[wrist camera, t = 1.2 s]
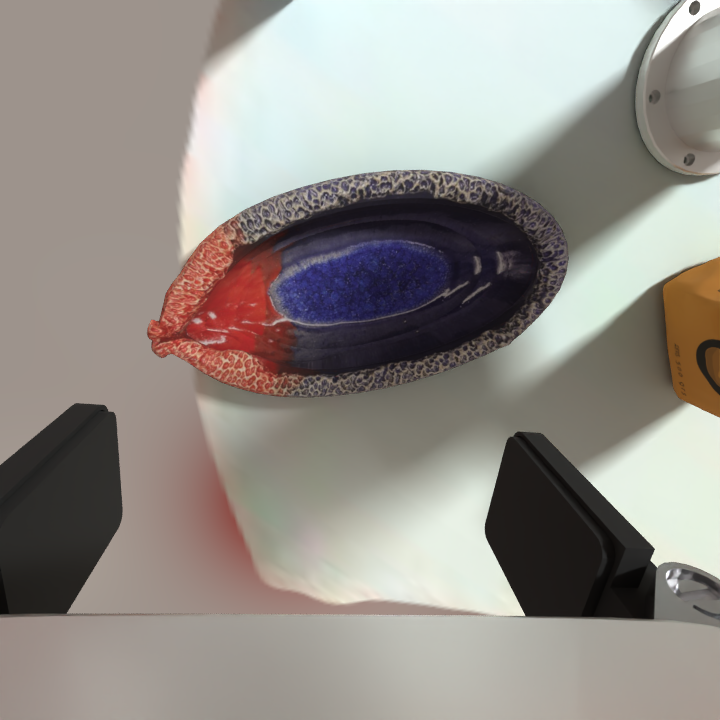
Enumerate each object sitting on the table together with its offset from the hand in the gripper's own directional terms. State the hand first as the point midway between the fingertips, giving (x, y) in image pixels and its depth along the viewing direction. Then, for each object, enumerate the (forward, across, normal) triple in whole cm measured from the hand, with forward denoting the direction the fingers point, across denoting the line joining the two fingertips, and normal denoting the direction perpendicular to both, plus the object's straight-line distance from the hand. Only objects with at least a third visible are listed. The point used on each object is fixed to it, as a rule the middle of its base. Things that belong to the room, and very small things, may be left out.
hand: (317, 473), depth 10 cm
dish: (+26, -3, 0) cm, 26 cm away
